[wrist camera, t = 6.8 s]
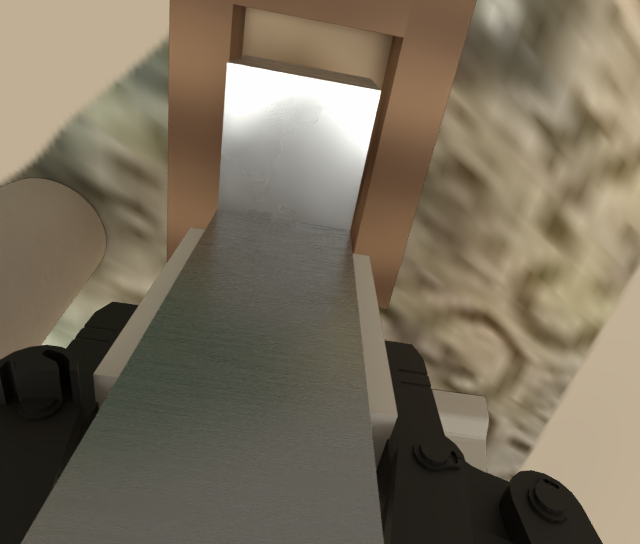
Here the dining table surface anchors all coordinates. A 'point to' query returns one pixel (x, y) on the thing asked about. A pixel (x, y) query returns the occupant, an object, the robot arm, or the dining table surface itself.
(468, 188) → the dining table surface
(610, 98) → the dining table surface
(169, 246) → the frame
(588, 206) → the dining table surface
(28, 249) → the coffee cup
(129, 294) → the dining table surface
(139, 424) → the bracket
